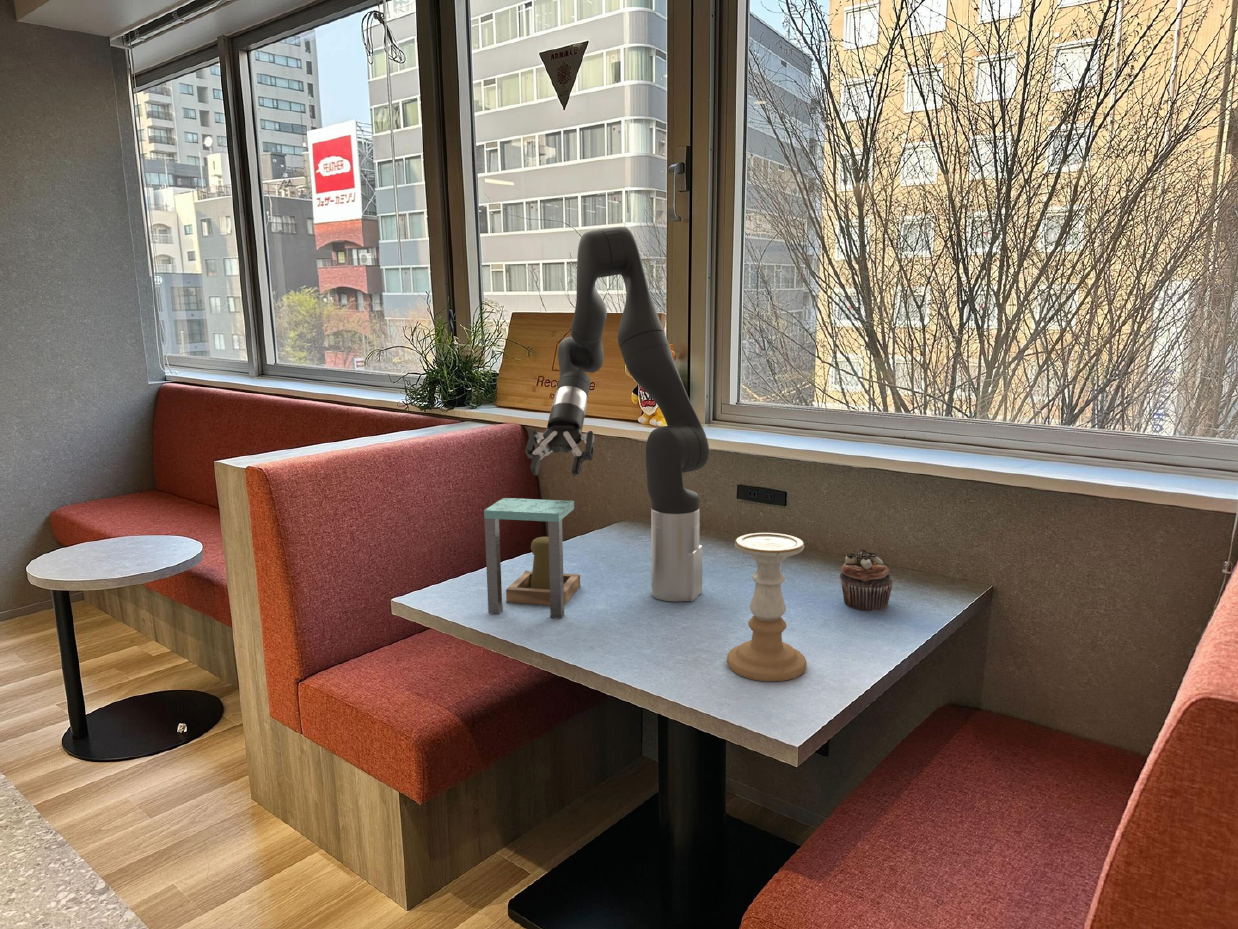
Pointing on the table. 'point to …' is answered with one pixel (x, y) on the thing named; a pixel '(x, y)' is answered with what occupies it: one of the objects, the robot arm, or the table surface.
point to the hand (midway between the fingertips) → (554, 473)
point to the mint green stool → (554, 515)
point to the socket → (539, 590)
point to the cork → (540, 563)
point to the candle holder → (767, 612)
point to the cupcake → (865, 582)
